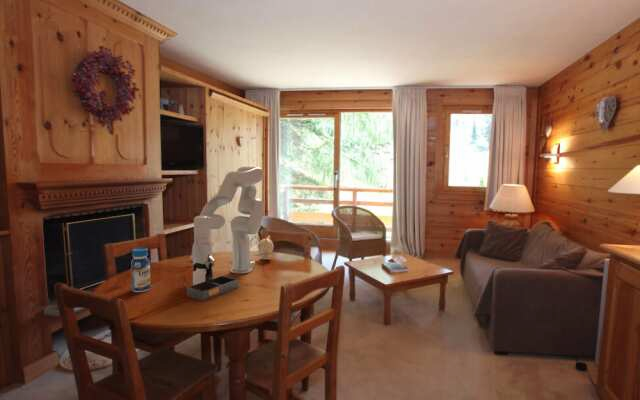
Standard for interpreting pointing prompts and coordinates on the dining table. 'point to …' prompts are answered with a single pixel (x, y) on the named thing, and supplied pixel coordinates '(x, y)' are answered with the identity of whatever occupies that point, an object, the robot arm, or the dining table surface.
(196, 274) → the medicine bottle
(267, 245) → the kitten
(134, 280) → the beverage bottle
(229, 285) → the rack
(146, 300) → the dining table surface
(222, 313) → the dining table surface
